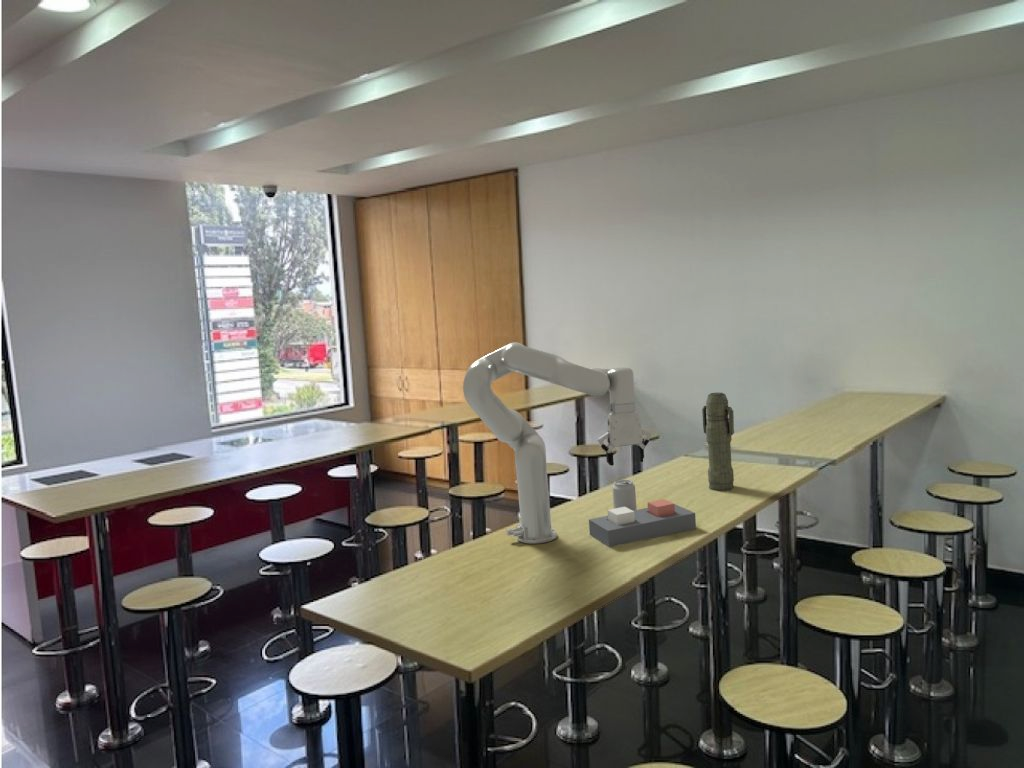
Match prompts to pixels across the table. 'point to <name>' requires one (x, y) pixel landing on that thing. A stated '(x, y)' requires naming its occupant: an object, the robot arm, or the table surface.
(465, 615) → the table surface
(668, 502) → the red key
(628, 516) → the white key
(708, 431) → the thermos
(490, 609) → the table surface
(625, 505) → the can
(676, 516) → the key panel
